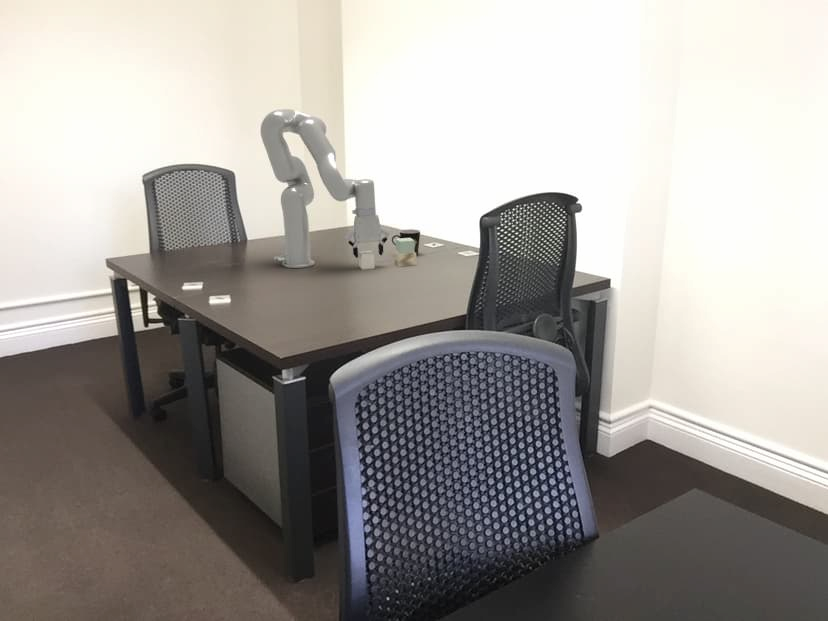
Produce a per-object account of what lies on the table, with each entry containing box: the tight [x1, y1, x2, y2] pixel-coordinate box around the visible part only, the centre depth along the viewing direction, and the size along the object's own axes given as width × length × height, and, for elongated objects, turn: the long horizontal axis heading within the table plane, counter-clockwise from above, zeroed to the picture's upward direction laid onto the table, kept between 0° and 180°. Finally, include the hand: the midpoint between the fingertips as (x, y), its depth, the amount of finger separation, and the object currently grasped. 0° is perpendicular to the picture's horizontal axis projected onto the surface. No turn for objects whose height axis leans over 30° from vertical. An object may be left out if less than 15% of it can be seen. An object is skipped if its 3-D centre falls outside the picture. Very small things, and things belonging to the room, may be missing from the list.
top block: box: [358, 250, 376, 270], centre depth 285 cm, size 5×5×6 cm
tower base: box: [394, 250, 417, 267], centre depth 290 cm, size 7×7×5 cm
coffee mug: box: [391, 228, 421, 257], centre depth 305 cm, size 12×9×10 cm
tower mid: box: [395, 237, 414, 254], centre depth 289 cm, size 6×6×5 cm
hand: (368, 255), depth 284 cm, fingers open, 9 cm apart
